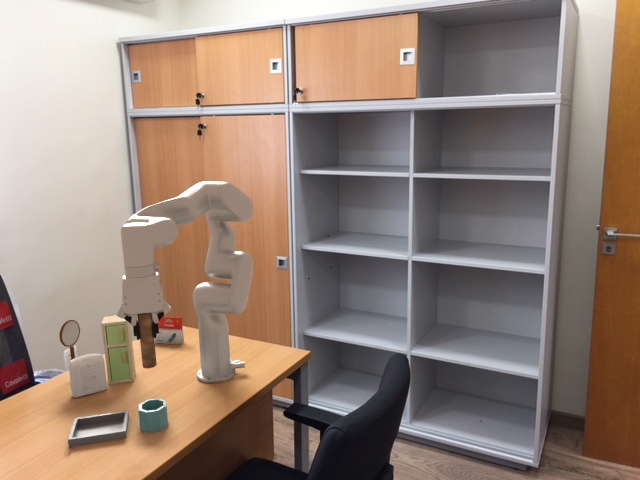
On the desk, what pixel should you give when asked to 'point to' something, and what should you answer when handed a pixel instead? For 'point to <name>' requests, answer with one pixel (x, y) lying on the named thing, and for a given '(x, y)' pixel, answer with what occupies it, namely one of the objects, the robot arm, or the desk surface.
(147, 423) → the cup
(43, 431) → the desk surface
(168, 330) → the ink cartridge box
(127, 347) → the toy refrigerator
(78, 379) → the photo printer
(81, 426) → the tray
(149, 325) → the dowel
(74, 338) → the magnifying glass
